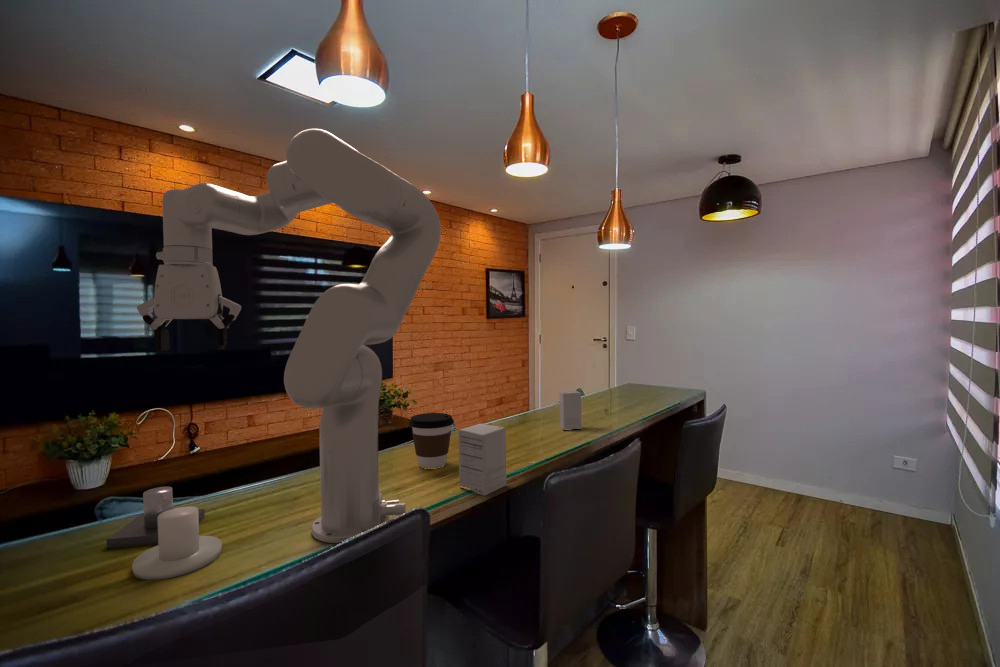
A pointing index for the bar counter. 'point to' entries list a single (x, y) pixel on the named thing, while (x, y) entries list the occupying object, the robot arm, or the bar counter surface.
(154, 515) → the square base with cylinder
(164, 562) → the white domed disc
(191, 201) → the robot arm
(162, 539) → the cap
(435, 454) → the coffee cup
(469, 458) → the supplement box
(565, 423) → the skincare box
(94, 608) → the bar counter surface
